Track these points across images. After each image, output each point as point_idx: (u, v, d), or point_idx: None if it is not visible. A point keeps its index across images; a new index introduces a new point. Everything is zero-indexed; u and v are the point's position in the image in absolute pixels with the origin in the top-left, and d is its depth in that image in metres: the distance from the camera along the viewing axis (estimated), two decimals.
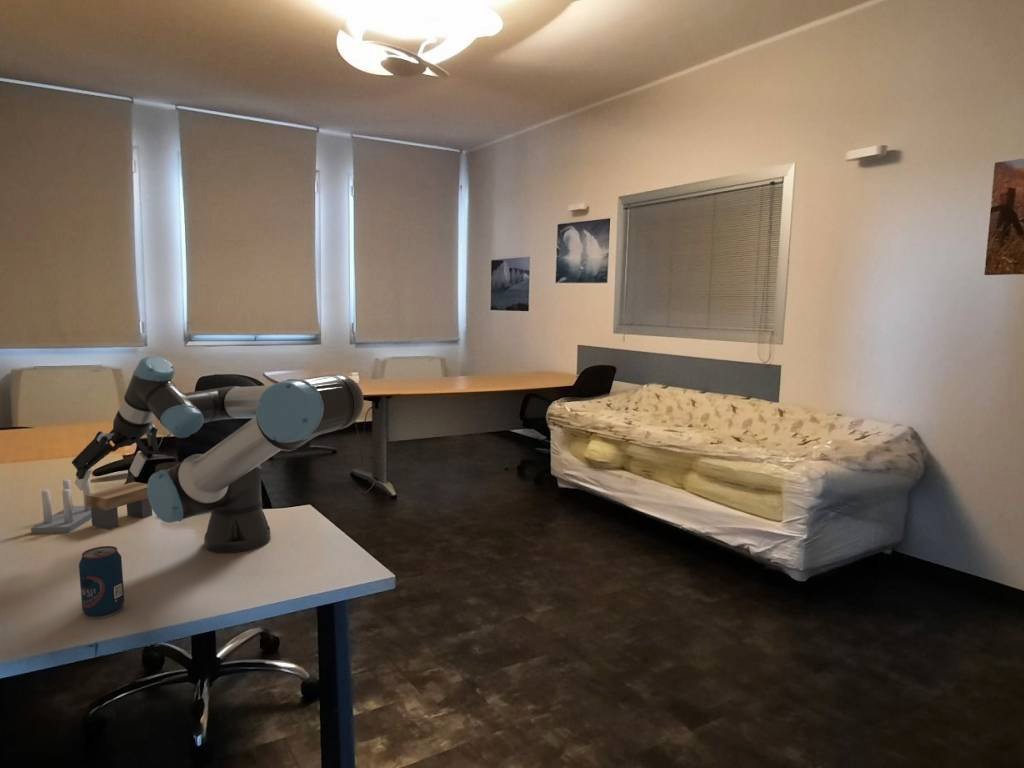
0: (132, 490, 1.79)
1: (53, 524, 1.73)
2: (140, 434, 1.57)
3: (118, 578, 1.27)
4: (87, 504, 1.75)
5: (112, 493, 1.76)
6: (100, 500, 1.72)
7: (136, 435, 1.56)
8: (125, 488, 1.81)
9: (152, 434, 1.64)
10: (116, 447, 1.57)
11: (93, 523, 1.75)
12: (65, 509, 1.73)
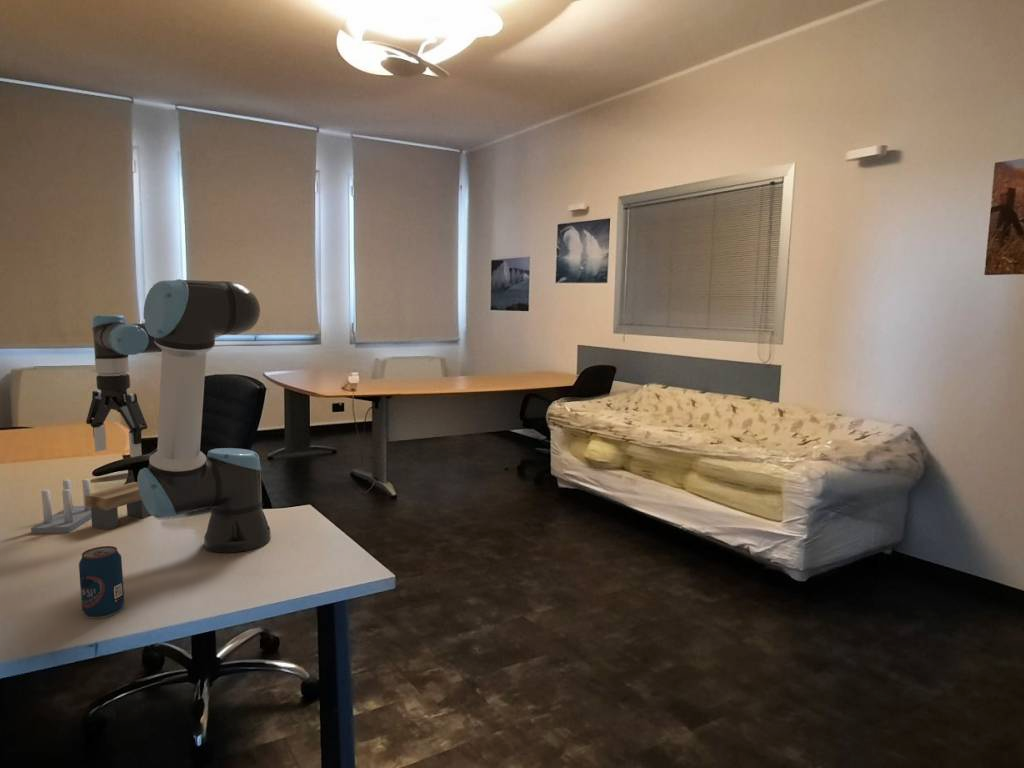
0: (132, 490, 1.79)
1: (53, 524, 1.73)
2: (99, 386, 1.72)
3: (118, 578, 1.27)
4: (87, 504, 1.75)
5: (112, 493, 1.76)
6: (100, 500, 1.72)
7: (98, 387, 1.73)
8: (125, 488, 1.81)
9: (125, 401, 1.73)
10: (101, 404, 1.76)
11: (93, 523, 1.75)
12: (65, 509, 1.73)
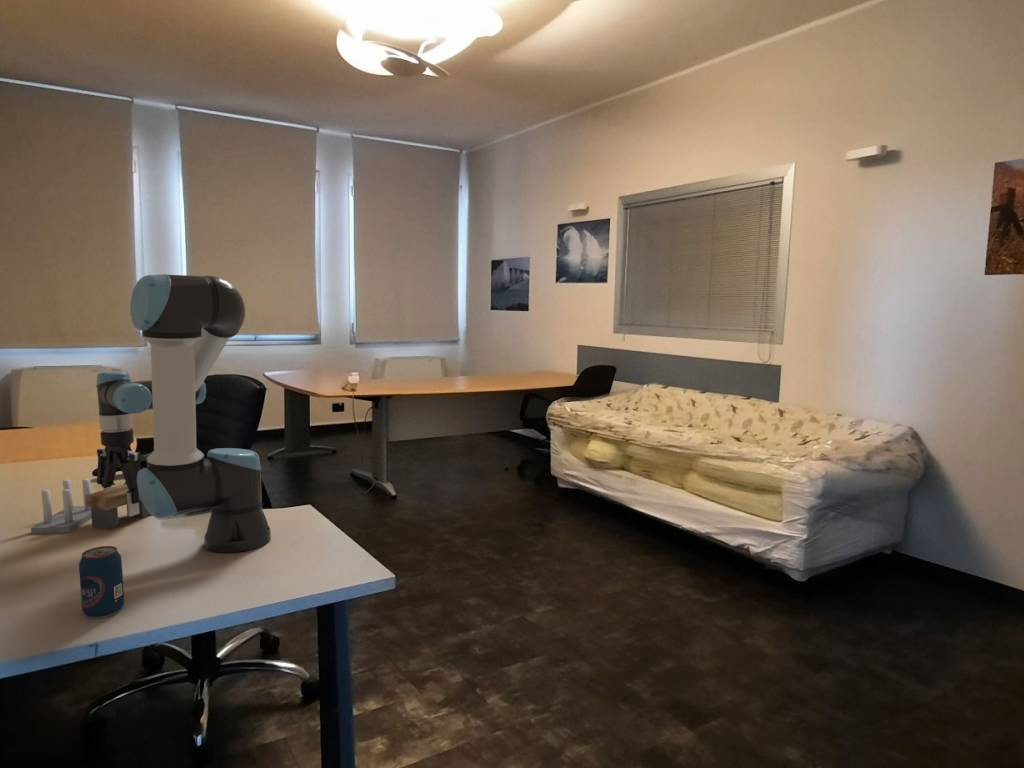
0: None
1: (53, 524, 1.73)
2: (104, 443, 1.74)
3: (118, 578, 1.27)
4: (87, 504, 1.75)
5: (112, 493, 1.76)
6: (100, 500, 1.72)
7: (102, 443, 1.75)
8: (125, 488, 1.81)
9: (129, 459, 1.75)
10: (106, 461, 1.78)
11: (93, 523, 1.75)
12: (65, 509, 1.73)
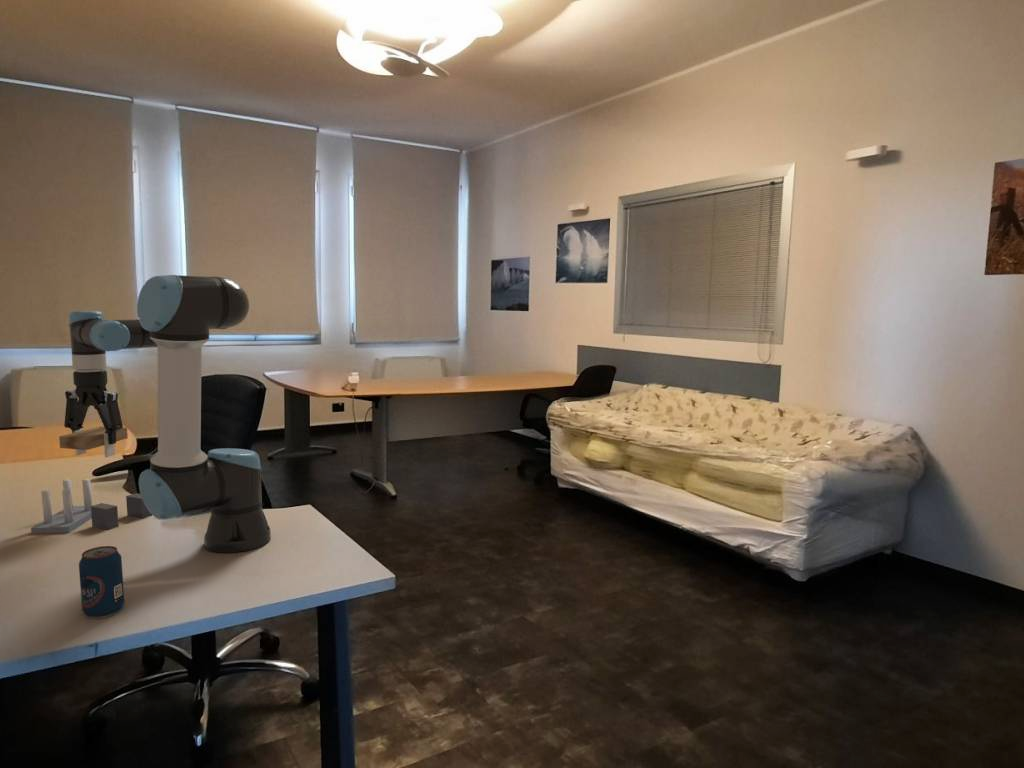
0: None
1: (53, 524, 1.73)
2: (79, 383, 1.72)
3: (118, 578, 1.27)
4: (61, 446, 1.71)
5: (88, 434, 1.74)
6: (78, 440, 1.70)
7: (76, 383, 1.72)
8: (97, 430, 1.79)
9: (107, 399, 1.74)
10: (79, 402, 1.75)
11: (93, 523, 1.75)
12: (65, 509, 1.73)
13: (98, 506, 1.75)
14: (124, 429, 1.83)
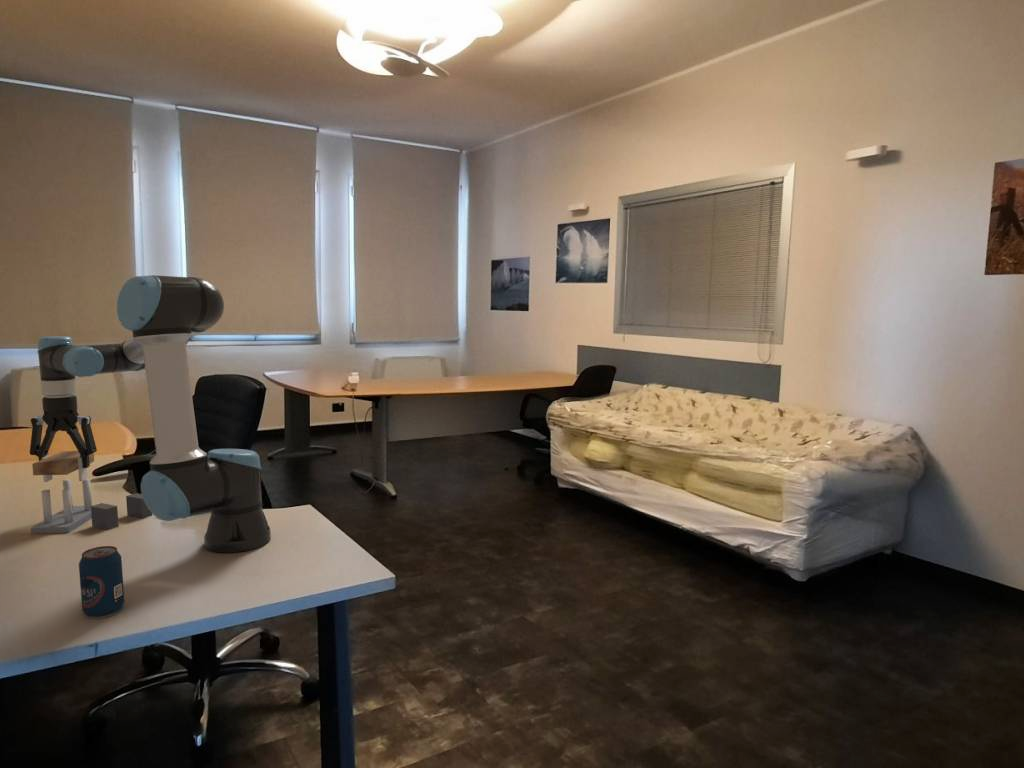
0: (78, 456, 1.79)
1: (53, 524, 1.73)
2: (52, 408, 1.72)
3: (118, 578, 1.27)
4: (35, 473, 1.70)
5: (61, 459, 1.74)
6: (56, 466, 1.71)
7: (48, 409, 1.72)
8: (66, 455, 1.79)
9: (81, 423, 1.76)
10: (48, 429, 1.74)
11: (93, 523, 1.75)
12: (65, 509, 1.73)
13: (98, 506, 1.75)
14: None
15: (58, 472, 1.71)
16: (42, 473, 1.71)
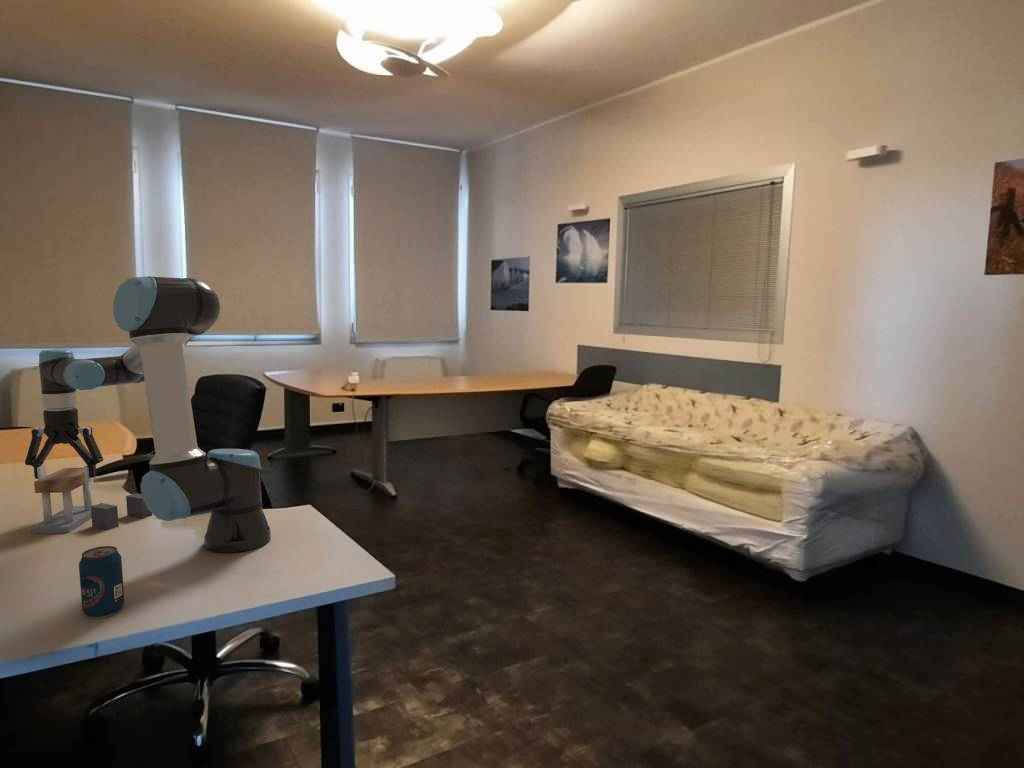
0: (80, 472, 1.79)
1: (53, 524, 1.73)
2: (53, 422, 1.72)
3: (118, 578, 1.27)
4: (37, 490, 1.71)
5: (63, 477, 1.75)
6: (58, 483, 1.71)
7: (49, 422, 1.72)
8: (67, 472, 1.79)
9: (83, 435, 1.76)
10: (48, 441, 1.75)
11: (93, 523, 1.75)
12: (65, 509, 1.73)
13: (98, 506, 1.75)
14: None
15: (60, 490, 1.72)
16: (44, 491, 1.71)
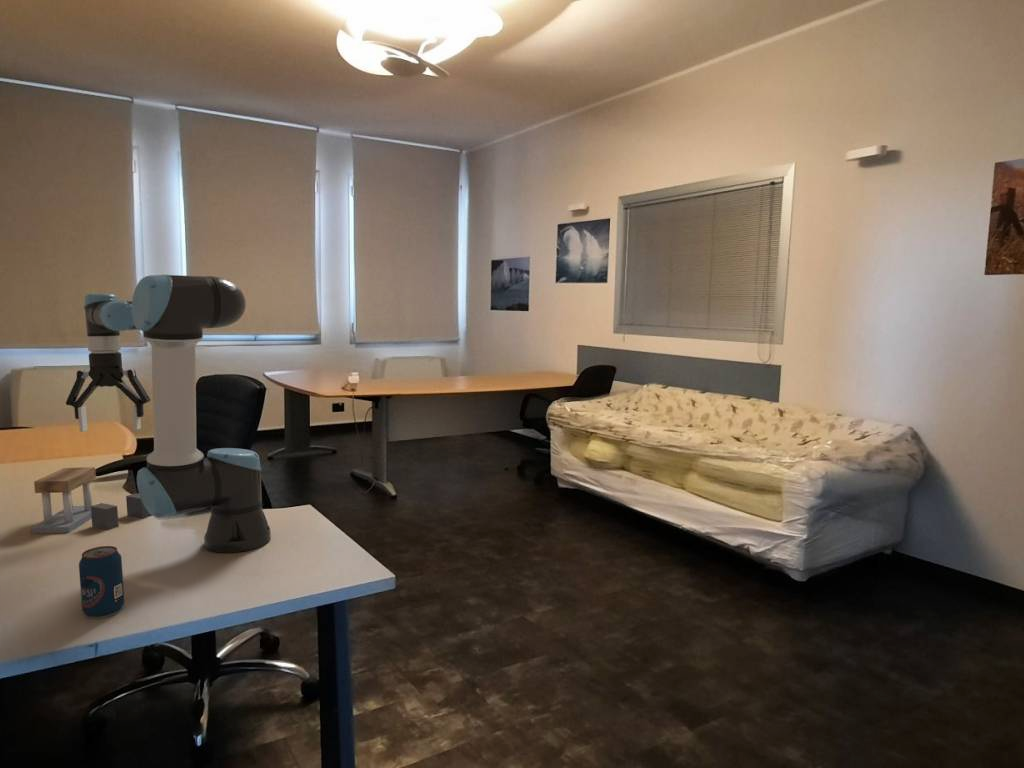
0: (80, 472, 1.79)
1: (53, 524, 1.73)
2: (99, 363, 1.77)
3: (118, 578, 1.27)
4: (37, 490, 1.71)
5: (63, 477, 1.75)
6: (58, 483, 1.71)
7: (96, 364, 1.77)
8: (67, 472, 1.79)
9: (128, 376, 1.80)
10: (92, 383, 1.79)
11: (93, 523, 1.75)
12: (65, 509, 1.73)
13: (98, 506, 1.75)
14: (93, 469, 1.84)
15: (60, 490, 1.72)
16: (44, 491, 1.71)
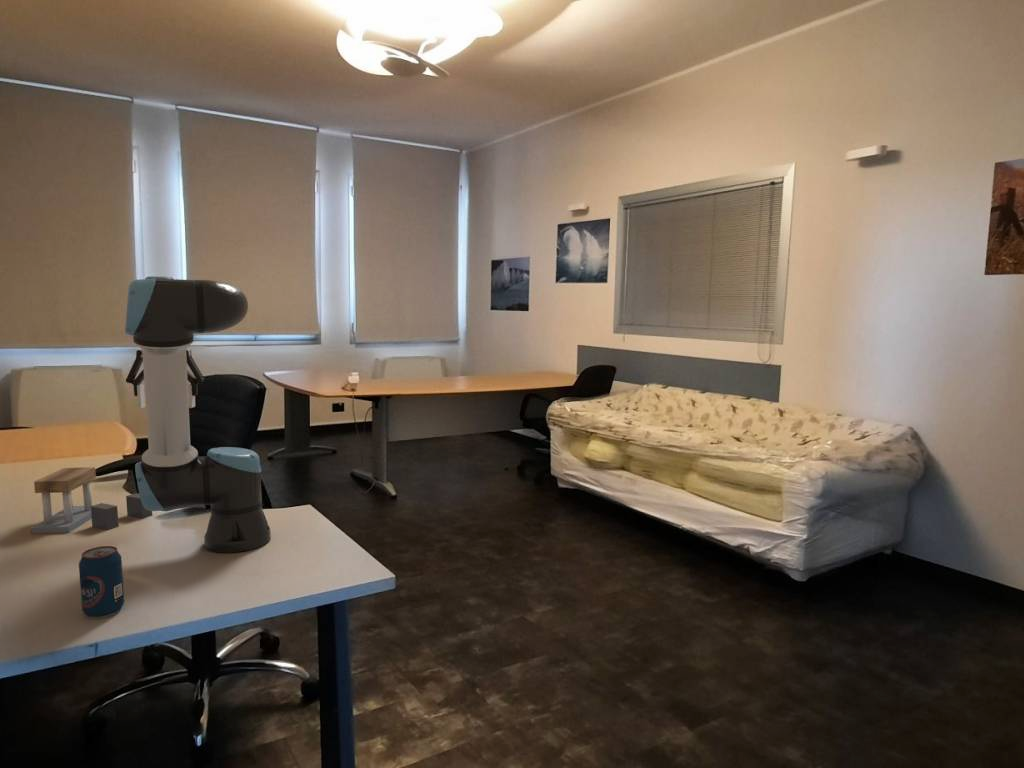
0: (80, 472, 1.79)
1: (53, 524, 1.73)
2: None
3: (118, 578, 1.27)
4: (37, 490, 1.71)
5: (63, 477, 1.75)
6: (58, 483, 1.71)
7: None
8: (67, 472, 1.79)
9: None
10: None
11: (93, 523, 1.75)
12: (65, 509, 1.73)
13: (98, 506, 1.75)
14: (93, 469, 1.84)
15: (60, 490, 1.72)
16: (44, 491, 1.71)
